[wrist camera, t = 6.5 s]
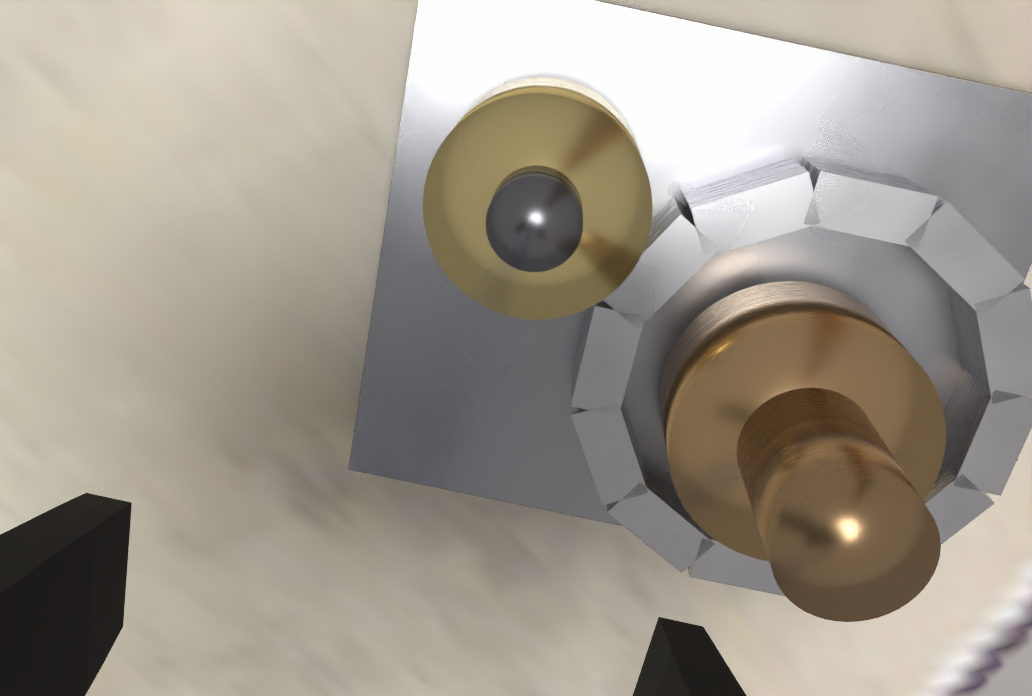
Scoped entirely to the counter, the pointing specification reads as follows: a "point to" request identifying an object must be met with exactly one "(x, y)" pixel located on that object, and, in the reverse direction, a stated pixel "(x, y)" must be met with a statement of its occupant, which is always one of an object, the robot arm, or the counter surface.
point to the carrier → (675, 250)
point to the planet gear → (808, 445)
